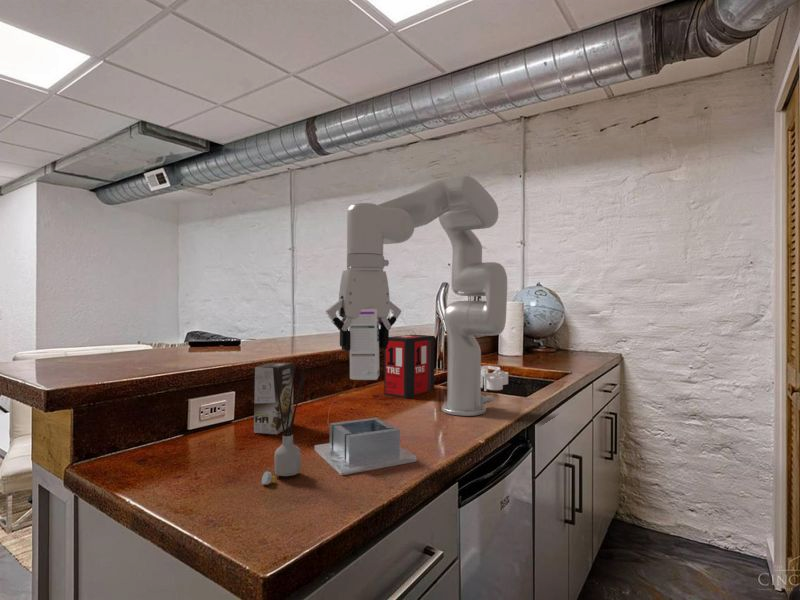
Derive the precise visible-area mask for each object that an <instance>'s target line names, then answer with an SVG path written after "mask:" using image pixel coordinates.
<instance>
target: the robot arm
mask: <svg viewBox="0 0 800 600" xmlns="http://www.w3.org/2000/svg"><path fill="white" fill-rule="evenodd" d="M346 213H347V214H346V216H347V217H346V219H347V220H346V225H347V226H346V230H347V231H346V270H342V273H341V277H340V283H339V284H340V285H339V292H338V300H337V301H336V302H335V303H334V304H333V305H331V306H330V307H328V308H327V309H326V310H325V314H326V315H327V316H328V319H330V321H331V323H332V324H333V325H334V326H335V327H336V328H337V330H338V331H339V347H340V348H341V350H342V351H345V352H350V331H349V326H350V324H351V322H352V319H355V318H358V317H359V315H360V312H361V310H362V309H363V308H375V309H377V315H378V319H379V349H382V350H385V349H387V344H388V343H389V337H390V335H389V333H390V331H389V330H391V329H392V326H393V325H394V324H395V323H396V322H397V319H398V318H399V316H400V315H401V313H402V309H400V307H398V306H397V305H396V304H395V303H393V302H392V301H391V300H390V289H389V281H388V276H387V272H386V271H384V269H385V267H389V263H390V262H389V260H388V259H385V256H384V245H392V244H393V245H394V244H401V243H404V242H407V241H408V240H409V239H410V238H411V237H412V236H413V234H414V231H415V228H419V227H423V226H426V225H428V224H429V223H431V222H433V221H434V220H436V219H438V221H439V223H440V226H441V228H442V229H443V230H444V232H445V233H446V235H447V237H448V238H449V241H450V243H451V247H452V260H451V261H452V262H451V263H452V264H451V289H452V291H453V293H454V294H455V295H457V296H463V297H485V300H457V301H453V302H451V303H449V304H448V305H447V306H446V307H445V309H444V310H445V311H444V313H443V318H444V320H443V321H444V324H445V333H446V341H447V344H446V346H447V360H446V361H447V369H446V370H447V374H446V375H447V378H446V379H447V382H446V383H447V385H446V388H447V389H446V392H447V395H446V397H447V398H446V403H444V404H442V405H441V411H442V412H443V413H445V414H448V415H453V416H460V417H461V416H463V417H465V416H466V417H472V416H473V417H474V416H475V417H476V416H481V415H483V414H486V413H487V407H486V406H485V404H486V403H488V404H489V403H494V402H495V398H494V396H493V395H484V394H482V393H481V392H482V390H481V389H482V388H481V366H482V360H481V359H482V350H481V347H480V344H479V342H478V340H477V339H476V337H475V336H476V335H477V336H498V335H501V334H502V333H503V332H504V329H505V328H506V321H507V308H508V307H507V305H508V275H507V271H506V269H505V267H504V266H503V265H502V264H501V263H499V262H494V261H493V262H492V261H490V262H488V261H487V262H485V261H484V262H483V246H482V243H481V241H480V239H479V237H478V236H477V235H476V234H475V233H474V232H473V231H474V230H484V229H489V228H492V227H494V226H495V225H496V223H497V222H498V218H499V207H498V205H497V202H496V200H495V199H494V198H493V196H492V195H491V194H490V193H489V192H488V191H487V189H486V188H485V187H484V186H483V185H482V184H481V183H480V182H479V181H478V180H476V179H475V178H474V177H472V176H470V175H461V176H454V177H448V178H441V179H437V180H435V181H432V182H430V183H428V184H427V185H424V186H422V187H420V188H419V189H416V190H414V191H412V192H409V193H406V194H403V195H401V196H398V197H395V198H393V199H390V200H387V201H384V202H381V203H379V204H375V203H371V202H370V203H369V202H359V203H354V204H351V205H350V206H348V208H347V212H346ZM472 230H473V231H472ZM337 312H338V315H337V314H336V313H337ZM390 312H391V313H390ZM338 316H339V317H340V318H341V319H340V318H339V317H338Z"/></svg>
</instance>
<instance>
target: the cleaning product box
mask: <svg viewBox="0 0 800 600" xmlns="http://www.w3.org/2000/svg"><path fill="white" fill-rule="evenodd" d="M383 365H384V367H383V368H384V371H383V372H384V378H383V379H384V380H383V381H384V384H383V388H384V390H383V391H384V392H383V394H384V395H385V396H389V397H394V398H401V399H403V400H404V399H410V398H413V397H416V396H418V395H419V396H420V395H422V394H425V393H428V392H433V391H435V335H425V334H408V335H407V334H406V335H395V336H389V343H388V344H387V349H384V363H383ZM384 395H383V396H384Z"/></svg>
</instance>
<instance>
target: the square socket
mask: <svg viewBox="0 0 800 600" xmlns="http://www.w3.org/2000/svg"><path fill="white" fill-rule="evenodd" d="M400 443H401V430H400V429H399V428H397V427H395V426H394V425H391V424H389V423H388V422H386V421H384V420H382V419H380V418H379V417H370V418H362V419H354V420H346V421H338V422H330V423H329V442H328V443H321V444H315V445H314V451H315V452H316V453H317V454H318V455H319V456H320V457H322V459H323V460H324V461H325V462H326V463H327V464H328V465H329V466H331V468H333V469H334V470H335V471H336V472H337V473H338V474H339V475H340V476H345V475H346V476H347V475H351V474H355V473H362V472H363V473H364V472H367V471H373V470H377V469H384V468H387V467H388V468H389V467H395V466H400V465H404V464H409V463H410V464H411V463H416V462H418V461H417V460H418V459H417V456H416V454H413V453H412V452H410V451H408V450H407V449H405V448H404V447H401V445H400Z"/></svg>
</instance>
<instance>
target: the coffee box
mask: <svg viewBox="0 0 800 600" xmlns="http://www.w3.org/2000/svg"><path fill="white" fill-rule="evenodd" d="M275 371H276V374H277V381H278V388H279V395H280V402H281V409H282V416H283V423H284V430H285V431H286V426H287V418H288V411H289V403H290V395H291V387H292V380H293V372H294V362H270V363H266V364H261V365H257V366H255V367H254V398H253V399H254V401H253V403H254V404H253V405H254V407H253V408H254V409H253V410H254V411H253V413H254V414H253V415H254V416H253V433H254V434H265V435H274V434H275V435H279V434H280V433H282V432H283V427H282V420H281V413H280V406H279V399H278V392H277V385H276V378H275ZM293 413H294V390H293V391H292V399H291V406H290V414H289V422H288V428H289V427H290V424H291V420H292V417H293Z"/></svg>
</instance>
